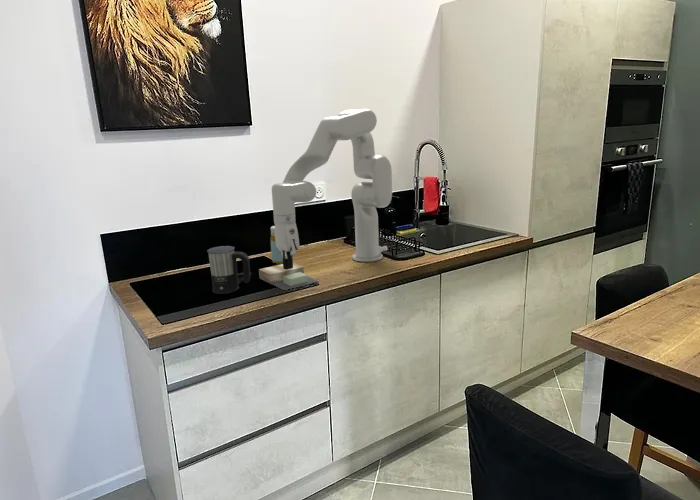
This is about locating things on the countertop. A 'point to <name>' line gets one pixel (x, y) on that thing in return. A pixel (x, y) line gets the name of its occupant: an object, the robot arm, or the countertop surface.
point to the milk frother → (227, 269)
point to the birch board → (278, 272)
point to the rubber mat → (286, 287)
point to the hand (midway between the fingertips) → (288, 268)
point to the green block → (295, 279)
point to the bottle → (275, 249)
